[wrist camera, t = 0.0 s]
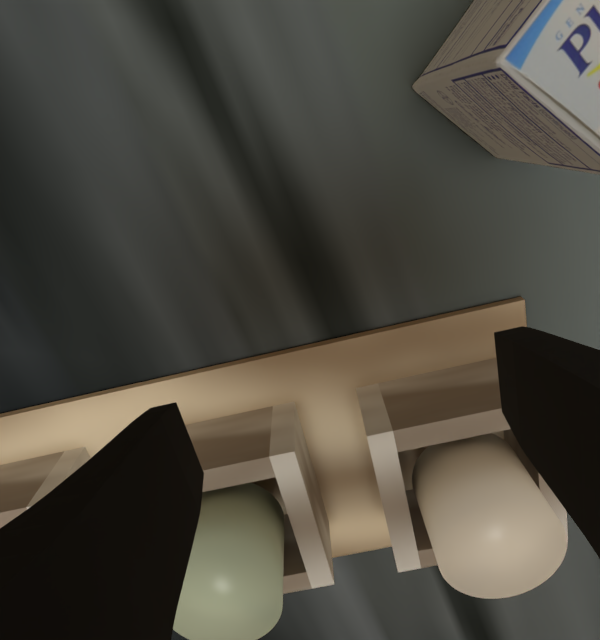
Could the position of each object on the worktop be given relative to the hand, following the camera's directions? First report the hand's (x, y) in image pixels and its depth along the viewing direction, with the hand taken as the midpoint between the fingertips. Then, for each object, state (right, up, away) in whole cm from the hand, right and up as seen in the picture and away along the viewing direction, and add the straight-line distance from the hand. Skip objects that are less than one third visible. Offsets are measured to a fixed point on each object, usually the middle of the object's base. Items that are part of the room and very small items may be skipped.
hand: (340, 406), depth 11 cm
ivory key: (+6, -5, +10) cm, 12 cm away
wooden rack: (-4, -6, +13) cm, 15 cm away
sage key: (-4, -7, +10) cm, 13 cm away
